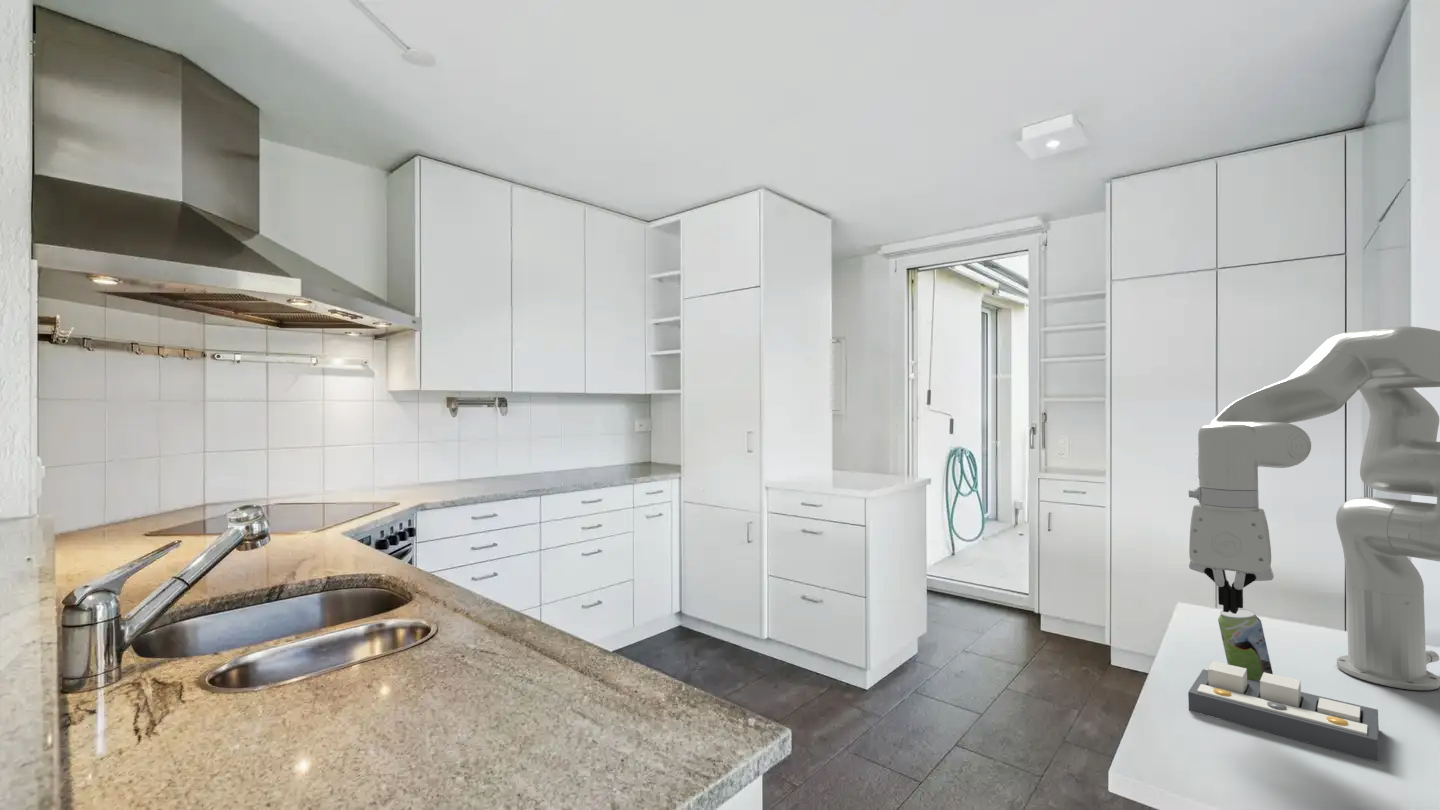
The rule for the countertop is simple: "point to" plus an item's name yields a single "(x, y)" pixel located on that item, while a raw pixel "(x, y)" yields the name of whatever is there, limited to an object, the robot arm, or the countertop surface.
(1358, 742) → the board
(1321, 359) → the robot arm
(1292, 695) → the middle key
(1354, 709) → the right key
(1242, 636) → the beverage can
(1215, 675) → the left key
